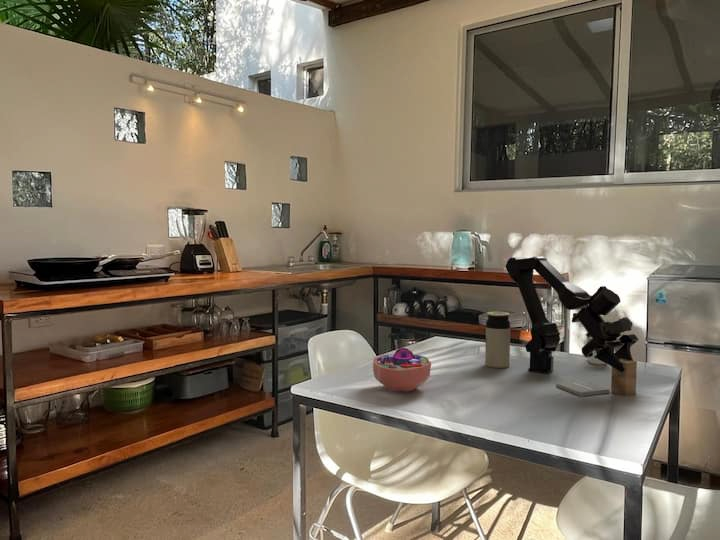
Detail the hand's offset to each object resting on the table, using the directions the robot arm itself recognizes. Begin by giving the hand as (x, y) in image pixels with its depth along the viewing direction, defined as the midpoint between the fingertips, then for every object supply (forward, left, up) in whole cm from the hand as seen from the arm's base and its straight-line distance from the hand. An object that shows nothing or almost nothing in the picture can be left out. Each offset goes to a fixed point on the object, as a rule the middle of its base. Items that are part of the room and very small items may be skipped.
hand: (628, 370), depth 153 cm
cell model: (-53, -33, -7) cm, 63 cm away
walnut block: (-1, +1, -7) cm, 7 cm away
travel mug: (-42, +11, -7) cm, 44 cm away
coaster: (-11, -3, -7) cm, 14 cm away
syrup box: (-16, +37, -7) cm, 41 cm away
